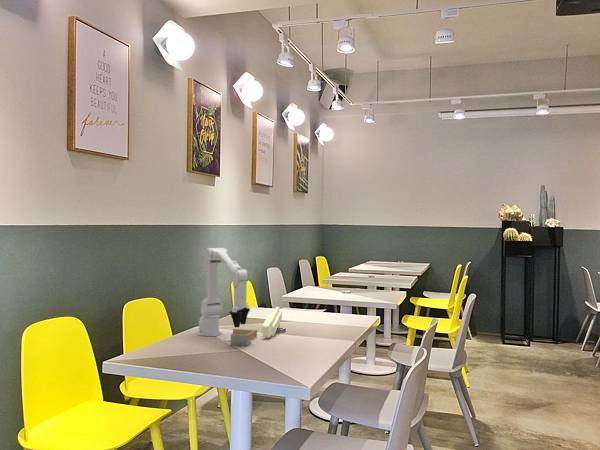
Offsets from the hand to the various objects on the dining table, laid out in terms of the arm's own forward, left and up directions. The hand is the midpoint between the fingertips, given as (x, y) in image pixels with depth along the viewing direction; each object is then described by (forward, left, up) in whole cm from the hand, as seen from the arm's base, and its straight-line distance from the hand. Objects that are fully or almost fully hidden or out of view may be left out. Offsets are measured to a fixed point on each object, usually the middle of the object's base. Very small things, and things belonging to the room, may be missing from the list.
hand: (239, 325), depth 231 cm
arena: (-4, +12, -9) cm, 15 cm away
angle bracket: (0, +2, -9) cm, 9 cm away
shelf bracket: (+7, +27, -10) cm, 30 cm away
